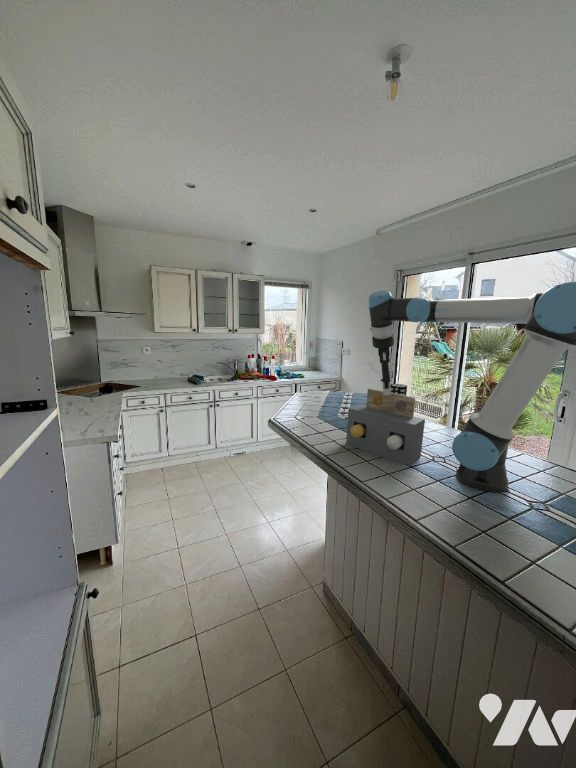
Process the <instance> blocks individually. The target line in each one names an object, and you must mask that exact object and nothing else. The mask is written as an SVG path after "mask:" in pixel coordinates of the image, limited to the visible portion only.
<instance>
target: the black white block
mask: <svg viewBox="0 0 576 768" xmlns="http://www.w3.org/2000/svg"><path fill="white" fill-rule="evenodd" d="M390 386H391V393H394V394H400V395H405V396H407V392H408V385H406V384H403V383H402V384H401V383H390Z"/></svg>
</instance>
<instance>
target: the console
mask: <svg viewBox="0 0 576 768" xmlns="http://www.w3.org/2000/svg"><path fill="white" fill-rule="evenodd" d="M347 414H348V415H347V424H346V425H347V426H346V441H345V445H348V446H351V447H354V448H357V449H360V450H363V451H365V452H368V453H371V454H375V455H377V456H380V457H383V458H385V459H388V460H392V461H395V462H398V463H401V464H403V465H407V466H408V467H409V466H410V467H411V466H412V465H413V464H415V463H416V462H417V461H418V460H419V459H421V455H422V448H423V440H424V432H425V425H426V424H425V423H426V418H421V417H418V416H414V415H413V418H411V417H406V416H402V415H398V414H394V413H390V412H385V411H381V410H377V409H373V408H369V407H366V404H363V403H362V404H361V403H360V404H358V405H357V404H356V405H353V406H351V407H349V408H348V412H347ZM357 424H362V425H363V426H364V427H365V429H366V432H365V434H364V435H362V436H360V437H358V438H355V437H353V436H352V434H351V431H350V430H351V427H352V426H354V425H357ZM394 434H398V435H400V436H401V437H402V438H403V441H404V443H403V445H402V446H401V447H399V448H398V449H396V450H393V449H391V448H389V447H388V445H387V439H388V438H389V437H390V436H392V435H394Z"/></svg>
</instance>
